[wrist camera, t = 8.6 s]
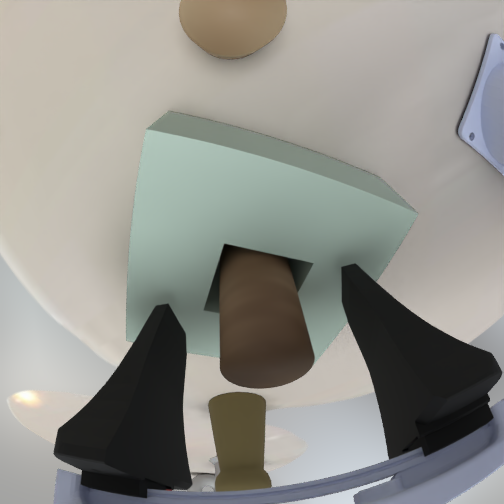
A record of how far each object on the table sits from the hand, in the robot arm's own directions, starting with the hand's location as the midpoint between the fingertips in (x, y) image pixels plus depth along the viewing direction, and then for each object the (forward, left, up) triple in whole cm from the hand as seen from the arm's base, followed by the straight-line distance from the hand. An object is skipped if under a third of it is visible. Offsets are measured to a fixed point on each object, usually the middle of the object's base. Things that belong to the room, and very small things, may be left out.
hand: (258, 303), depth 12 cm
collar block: (0, 0, -5) cm, 5 cm away
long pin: (0, 0, -5) cm, 5 cm away
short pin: (+4, -10, -5) cm, 12 cm away
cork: (-5, +20, -5) cm, 21 cm away
